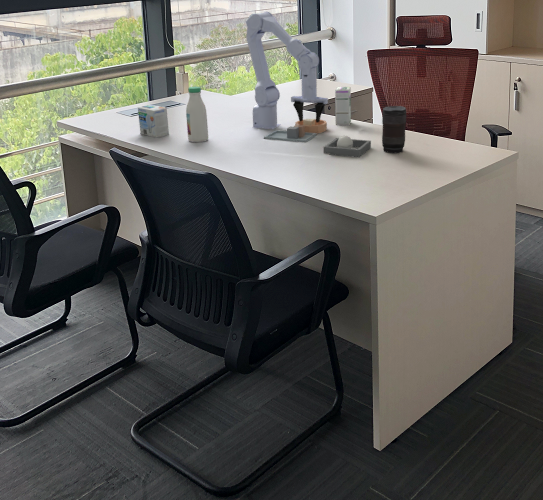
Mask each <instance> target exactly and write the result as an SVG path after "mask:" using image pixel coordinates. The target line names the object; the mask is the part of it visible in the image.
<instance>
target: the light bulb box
mask: <svg viewBox="0 0 543 500" xmlns="http://www.w3.org/2000/svg"><path fill="white" fill-rule="evenodd" d="M137 114H138V123H139V124H138V125H139V133H140V135H145V136H148V137H152V138H160V137H161V138H162V137H164V136H169V135H170V130H169V120H168V118H169V117H168V109H167V107H164V106H158V105H154V104H147V105H144V106H138V107H137Z"/></svg>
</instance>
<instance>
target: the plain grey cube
mask: <svg viewBox="0 0 543 500" xmlns="http://www.w3.org/2000/svg"><path fill="white" fill-rule="evenodd" d="M286 131H287V138H292V139H298V138H299V127H294V126H288V127H287V128H286Z"/></svg>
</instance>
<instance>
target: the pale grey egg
mask: <svg viewBox="0 0 543 500" xmlns="http://www.w3.org/2000/svg"><path fill="white" fill-rule="evenodd" d="M338 138H339V139H338V141H337V146H336V147H340V148H351V149H353V147H352V146H353V141H352V139H353V138H351V137H350V136H349V135H342V136H340V137H338Z"/></svg>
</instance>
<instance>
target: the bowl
mask: <svg viewBox="0 0 543 500" xmlns="http://www.w3.org/2000/svg"><path fill="white" fill-rule="evenodd" d="M314 119H315V126H305V132H307V133H316V134H321V133H324V132H326V131H327V129H328V128H327V127H328V126H327V125H328V124H327V123H328V122H327V121H326V120H323V119H320V122H318V123H317V122H316V118H314ZM303 120H305V118H303ZM303 120H302V121H299V120H297V121H295V122H294V124H295V125H303ZM295 125H294V126H295Z"/></svg>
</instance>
